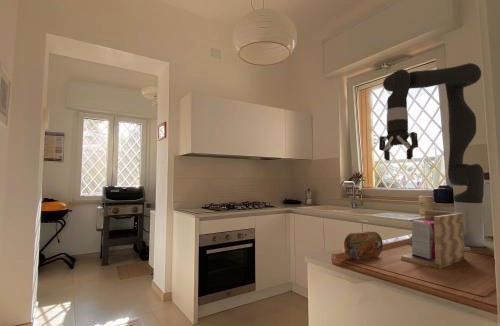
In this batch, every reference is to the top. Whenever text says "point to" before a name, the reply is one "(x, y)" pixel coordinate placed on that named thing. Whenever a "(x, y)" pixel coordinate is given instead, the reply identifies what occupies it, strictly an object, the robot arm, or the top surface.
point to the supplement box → (423, 239)
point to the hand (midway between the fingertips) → (398, 159)
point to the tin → (363, 245)
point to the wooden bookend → (444, 240)
